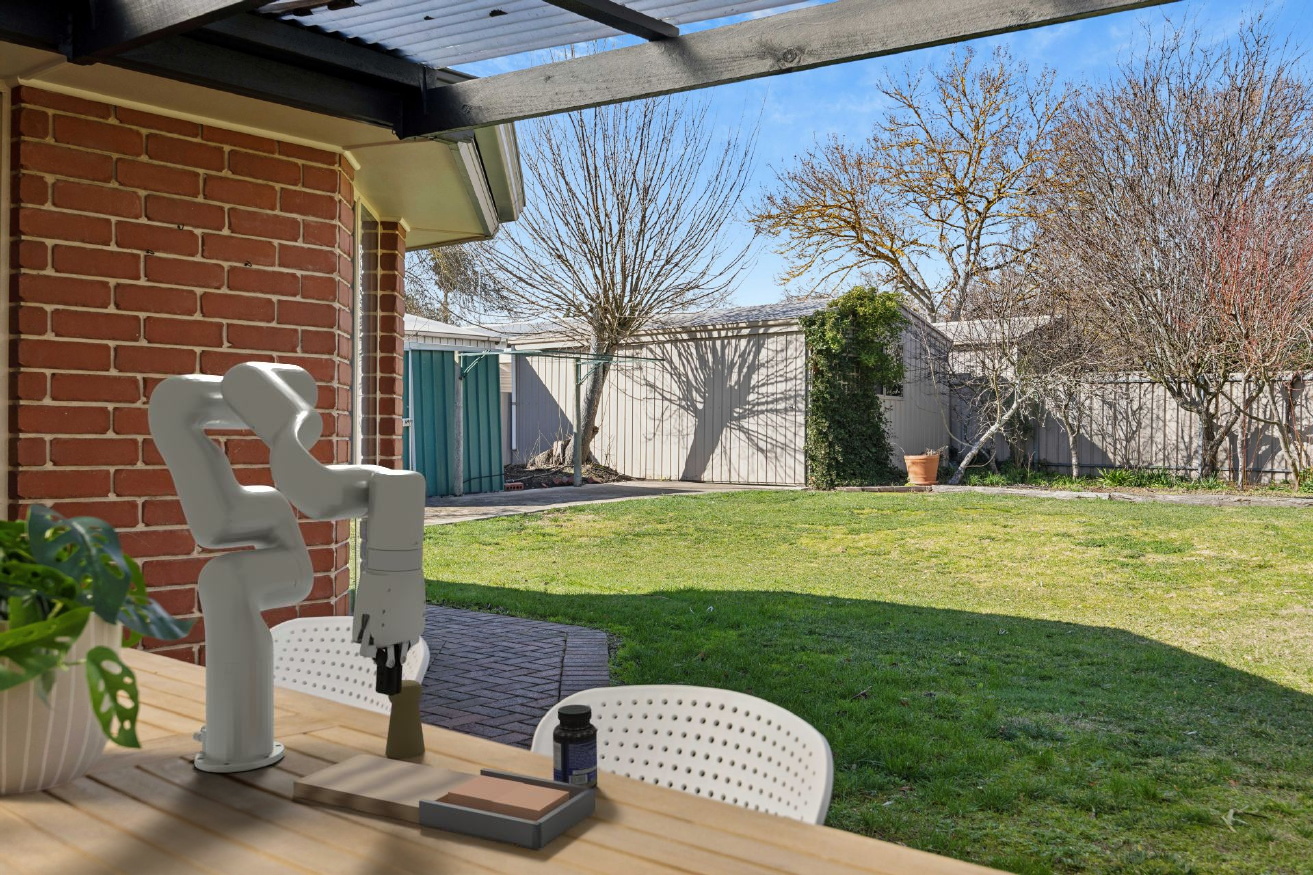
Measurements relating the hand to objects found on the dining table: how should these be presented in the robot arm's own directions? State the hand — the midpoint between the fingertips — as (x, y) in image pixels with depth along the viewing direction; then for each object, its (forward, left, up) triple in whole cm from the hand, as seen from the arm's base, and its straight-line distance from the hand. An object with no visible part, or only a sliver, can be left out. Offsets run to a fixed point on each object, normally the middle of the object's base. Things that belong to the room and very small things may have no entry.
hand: (388, 692), depth 134 cm
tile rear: (+16, 0, -14) cm, 21 cm away
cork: (-10, +15, -14) cm, 23 cm away
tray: (+20, 0, -14) cm, 24 cm away
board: (0, 0, -14) cm, 14 cm away
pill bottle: (+22, +13, -14) cm, 29 cm away
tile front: (+23, 0, -14) cm, 27 cm away
